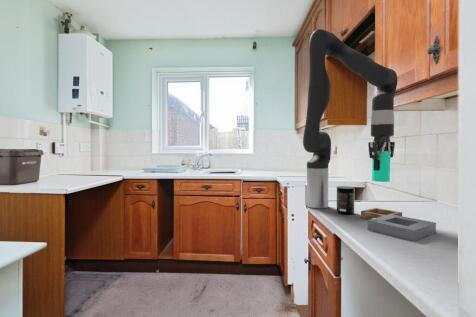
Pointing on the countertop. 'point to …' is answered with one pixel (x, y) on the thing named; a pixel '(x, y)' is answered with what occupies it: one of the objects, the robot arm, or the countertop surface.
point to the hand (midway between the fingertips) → (381, 169)
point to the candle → (382, 169)
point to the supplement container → (345, 200)
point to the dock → (402, 227)
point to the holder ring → (377, 213)
